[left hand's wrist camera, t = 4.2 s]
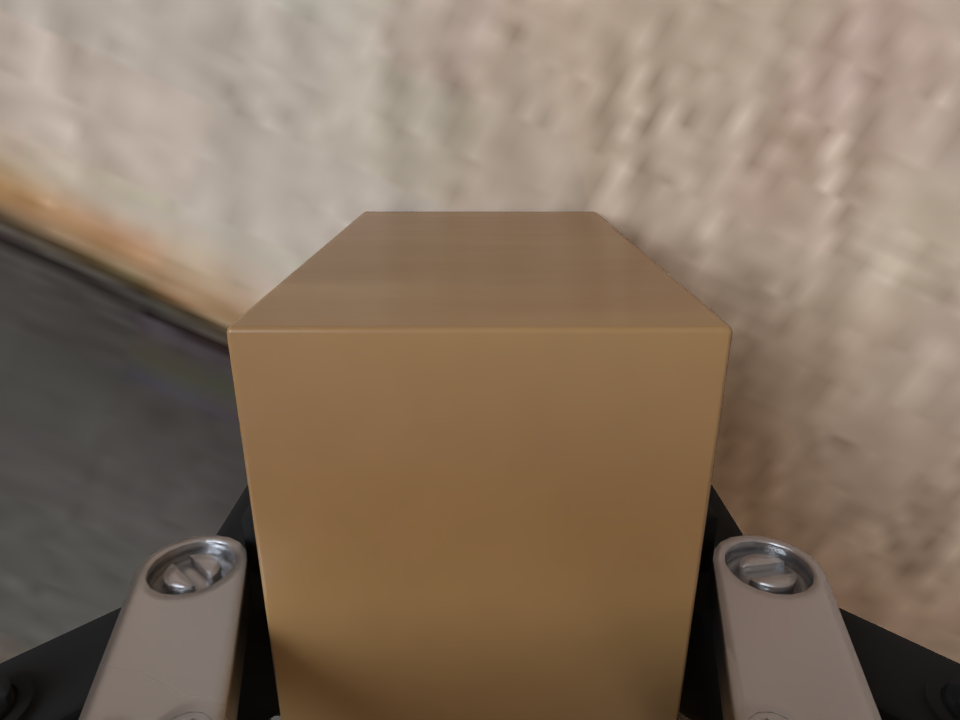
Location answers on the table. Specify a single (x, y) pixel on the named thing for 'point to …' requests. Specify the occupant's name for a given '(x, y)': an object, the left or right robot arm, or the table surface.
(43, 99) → the table surface
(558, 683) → the bar
